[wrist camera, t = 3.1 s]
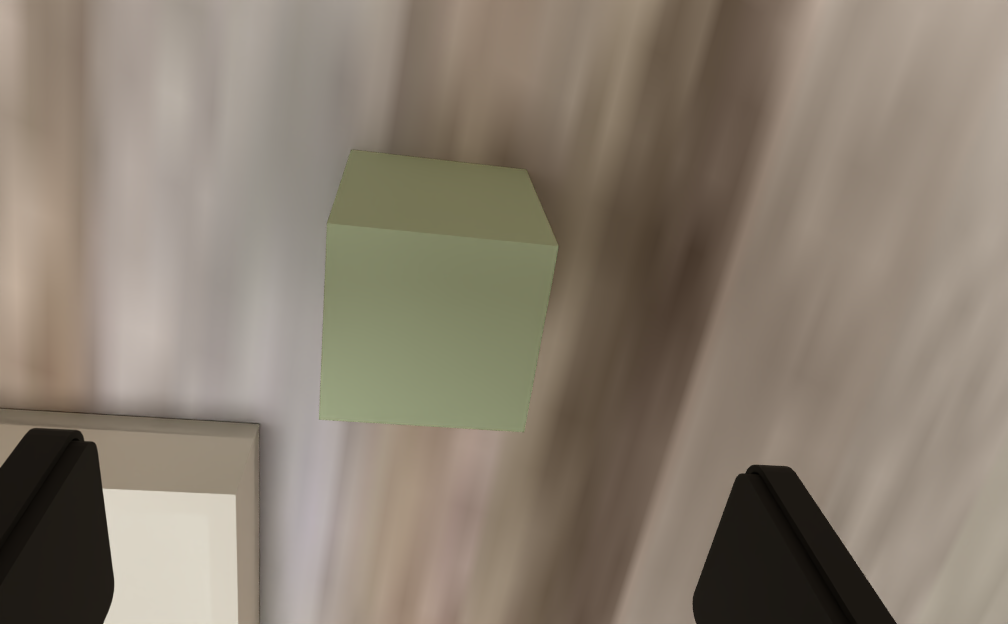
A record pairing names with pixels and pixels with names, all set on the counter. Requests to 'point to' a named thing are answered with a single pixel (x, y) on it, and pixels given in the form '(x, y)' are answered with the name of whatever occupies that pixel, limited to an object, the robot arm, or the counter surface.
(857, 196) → the counter surface
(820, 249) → the counter surface
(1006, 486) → the counter surface
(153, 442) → the white bin
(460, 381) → the green block
